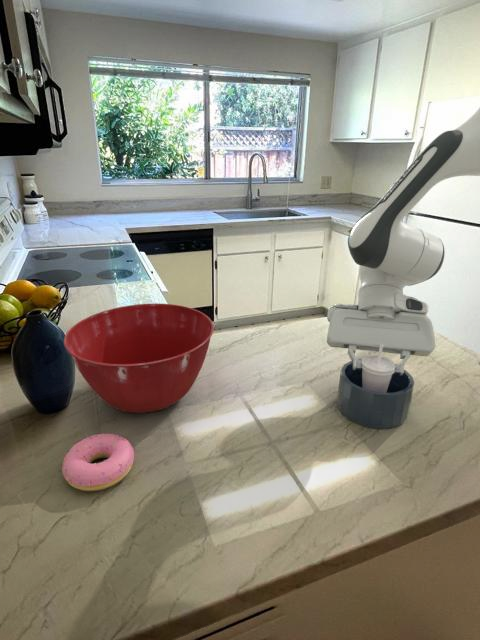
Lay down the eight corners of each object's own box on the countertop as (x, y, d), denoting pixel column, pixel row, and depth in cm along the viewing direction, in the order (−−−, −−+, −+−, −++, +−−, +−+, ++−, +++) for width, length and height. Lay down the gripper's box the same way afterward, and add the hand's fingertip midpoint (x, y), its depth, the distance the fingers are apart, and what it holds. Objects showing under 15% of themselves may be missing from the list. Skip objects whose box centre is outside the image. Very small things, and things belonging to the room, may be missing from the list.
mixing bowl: (138, 461, 67) (129, 381, 61) (47, 401, 83) (33, 332, 77) (241, 388, 87) (241, 323, 81) (153, 351, 103) (148, 294, 97)
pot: (402, 393, 86) (407, 363, 83) (412, 433, 74) (420, 399, 71) (337, 386, 89) (340, 355, 86) (337, 423, 76) (341, 389, 74)
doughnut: (138, 444, 71) (136, 425, 69) (132, 493, 60) (129, 471, 59) (73, 450, 69) (69, 430, 67) (55, 500, 59) (50, 479, 57)
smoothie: (354, 411, 79) (363, 347, 74) (356, 394, 85) (364, 333, 79) (389, 417, 77) (400, 352, 72) (388, 399, 83) (398, 338, 78)
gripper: (329, 296, 82) (323, 361, 77) (437, 304, 78) (438, 373, 73) (327, 309, 87) (322, 370, 82) (428, 317, 83) (428, 382, 78)
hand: (377, 372), depth 77 cm, fingers closed on smoothie, 6 cm apart
